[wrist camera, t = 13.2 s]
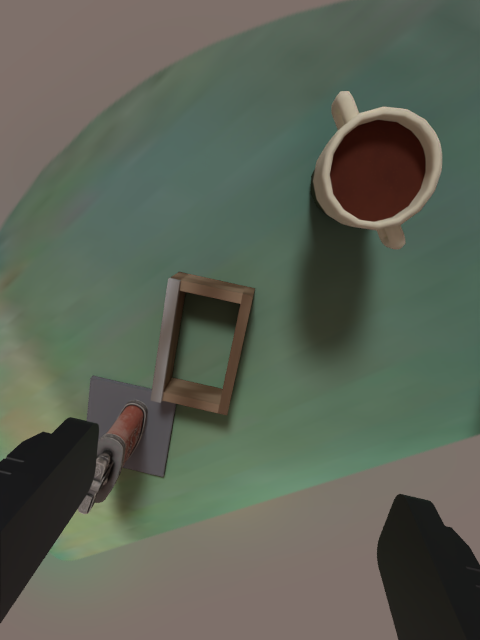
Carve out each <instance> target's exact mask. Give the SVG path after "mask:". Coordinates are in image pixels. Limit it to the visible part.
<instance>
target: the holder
mask: <svg viewBox="0 0 480 640" xmlns="http://www.w3.org/2000/svg"><path fill="white" fill-rule="evenodd" d="M254 291H255V288H251V287H246V286H242V285H237V284H232V283H228V282H223V281H219V280H214V279H209V278H205V277H200V276H196V275H191V274H187V273H182V272H178V273H177V274H175V275H174V276H172V277H171V278H169V279H168V284H167V291H166V298H165V305H164V311H163V318H162V325H161V332H160V339H159V345H158V352H157V359H156V366H155V373H154V380H153V386H152V393H151V400H150V401H155V402H159V403H161V402H162V401H167V402H171V403H175V404H180V405H184V406H188V407H193V408H197V409H202V410H206V411H210V412H215V413H219V414H223V415H227V413H228V409H229V405H230V401H231V396H232V392H233V387H234V382H235V378H236V373H237V369H238V364H239V360H240V355H241V350H242V346H243V341H244V337H245V332H246V328H247V323H248V318H249V314H250V309H251V305H252V300H253V296H254ZM186 292H189V293H193V294H198V295H202V296H207V297H212V298H216V299H221V300H225V301H230V302H234V303H239V304H240V309H239V314H238V319H237V323H236V328H235V333H234V338H233V343H232V347H231V352H230V357H229V362H228V366H227V371H226V376H225V381H224V385H223V389H220V388H216V387H212V386H207V385H203V384H198V383H194V382H189V381H185V380H181V379H176V378H172V373H173V367H174V361H175V355H176V349H177V343H178V337H179V330H180V324H181V318H182V312H183V306H184V300H185V294H186Z"/></svg>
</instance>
